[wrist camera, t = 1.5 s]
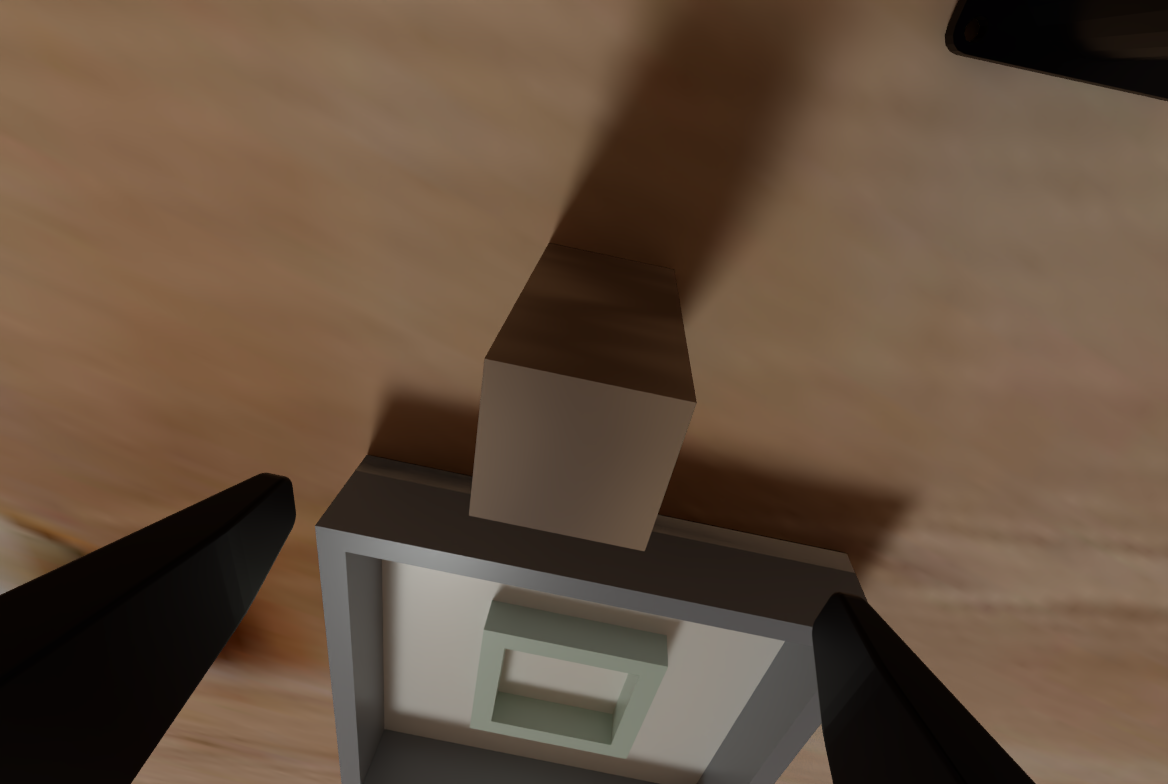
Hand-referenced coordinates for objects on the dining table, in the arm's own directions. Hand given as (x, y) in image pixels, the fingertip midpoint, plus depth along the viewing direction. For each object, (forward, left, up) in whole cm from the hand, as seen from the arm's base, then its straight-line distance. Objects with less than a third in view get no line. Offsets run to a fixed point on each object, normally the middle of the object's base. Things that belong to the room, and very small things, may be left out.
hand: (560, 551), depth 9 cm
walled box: (-2, +18, -10) cm, 21 cm away
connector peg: (0, 0, -10) cm, 10 cm away
